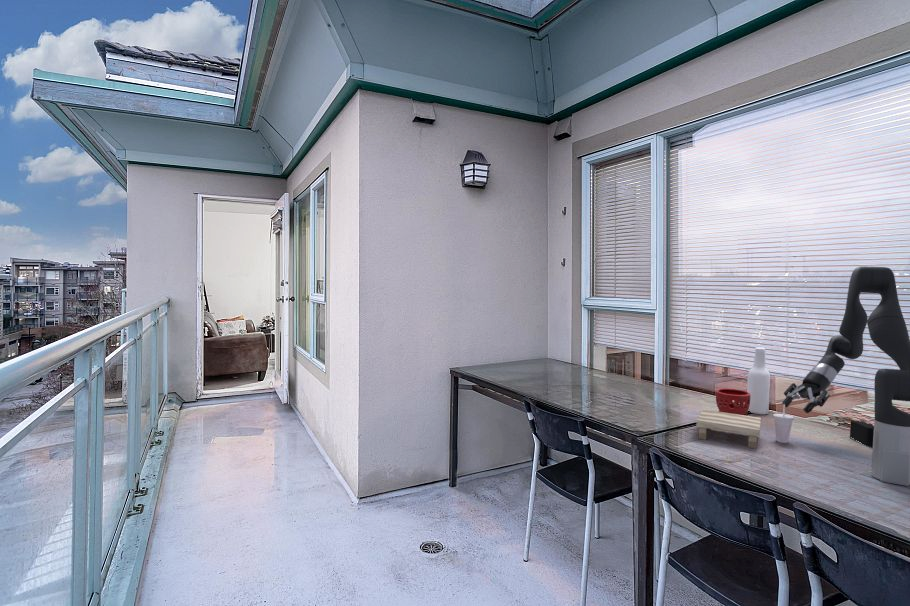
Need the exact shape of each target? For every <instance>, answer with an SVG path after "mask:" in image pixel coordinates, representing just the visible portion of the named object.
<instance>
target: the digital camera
mask: <svg viewBox="0 0 910 606" xmlns="http://www.w3.org/2000/svg"><path fill="white" fill-rule="evenodd" d="M873 436H874V424H872V423H867V422H865V421H861V420H850V430H849V438H850V437H852V438H854V439H855V440H857V441H859V442H861V443H862V445H863V444H864V446H865V445H866V446H865V447H867V446H871V447H870V448H873ZM855 440H854V441H855ZM857 441H856V442H857ZM859 442H858V443H859ZM861 443H860V444H861Z"/></svg>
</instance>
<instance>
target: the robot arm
mask: <svg viewBox="0 0 910 606" xmlns="http://www.w3.org/2000/svg"><path fill="white" fill-rule="evenodd" d="M850 275H851V276H850V280H849V283H848V291H847V294H846V295H847V296H846V303H845V309H844V311H845V312H844V315H843V318H842V320H841V323H840V326H839V330H838V332H839V334H840V335H839V334H838V335H834V336H832V337H831V338H830V339H829V341H828V345H827V348H826V351H825V353H824V354H823V356H822V358H820V360H819V361H818V362H817V363H816V364H815V365H814V366H813V367H812V369H810V371H809V372H808V373H807V374H806V376H805V377H804V378H803V379H802V382H801V384H800V385H798V384H796V383H795V382H793V383H791V384H790V385H789V386H788V387H787V388H786V390H785V391H784V392H783V395H784V396H785V398H784V400H783V401H782V405H783V404H785V408H788V407H789V406H790V405H791V403H793V401H794V400H796V399H798V400H799V399H807V400H809V402H807V404H805V406H804V407H803V412H804V413H806V414H809V413H811V412H812V411H813V409H814V408H815V407H823V406H824V405H825V403H826V402H827V401H828V399H829V398H830V397H831V394H830V393H829V392H828V391H827V389H828V388H829V387H830V386H831V384H832V383H833V381H835V379H836V377H837V375H838V374H839V373H840V372H841V371H842V369H843V368H844V366H845V361H844V360H843V358H846V359H847V360H856V359H858V358H860V357H861V356H862V355H863V351H864V340H863V338H864V336H863V335H864V332H865V330H866V327H867V329H868V333H869V336H870V339H871V341H872V342H873V344H874V345H875V346H876V347H877V348H879V350H881V351H882V352H883V353H885V354H886V355H887V356H888V357H889V358H890V359H892V360H893V362H895V364H896V365H897V366H898V368H899V369H894V368H879V369H878V370H877V371H876V372H875V375H874V386H873V387H874V408H873V410H874V420H873V421H874V423H873V426H874V436H873V447H872V452H871V453H872V456H871V457H872V458H871V459H872V460H871V472H870V473H871V474H870V475H871V476H872V477H873V478H875V479H876V480H879V481H880V482H884V483H890V484H894V485H900V486H906V487H909V486H910V413H909V412H906V411H905V410H901V409H900V408H897V407H895V406H894V405H893V401H902V402H910V336H909V332H908V327H907V324H906V321H905V318H904V315H903V312H902V309H901V305H900V300H899V296H898V290H897V289H898V288H897V284H896V283H897V282H896V278H895V275H894V271H893V270H892V269H891V268H890V267H886V266H865V265H864V266H857V267H855V268H854V269H853V270H852V273H851V274H850ZM864 293H865V294H879V295H880V296H881V300H880V302H879V304H878V305H877V306H876V307H875V308H874V309H873V310H872V311H871V313H870V314H869V316H868V314H867V312H866V310H865V308H864V307H863V304H862V301H860V300H861V299H860V295H861V294H864ZM841 356H842V357H843V358H842V357H841Z"/></svg>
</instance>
